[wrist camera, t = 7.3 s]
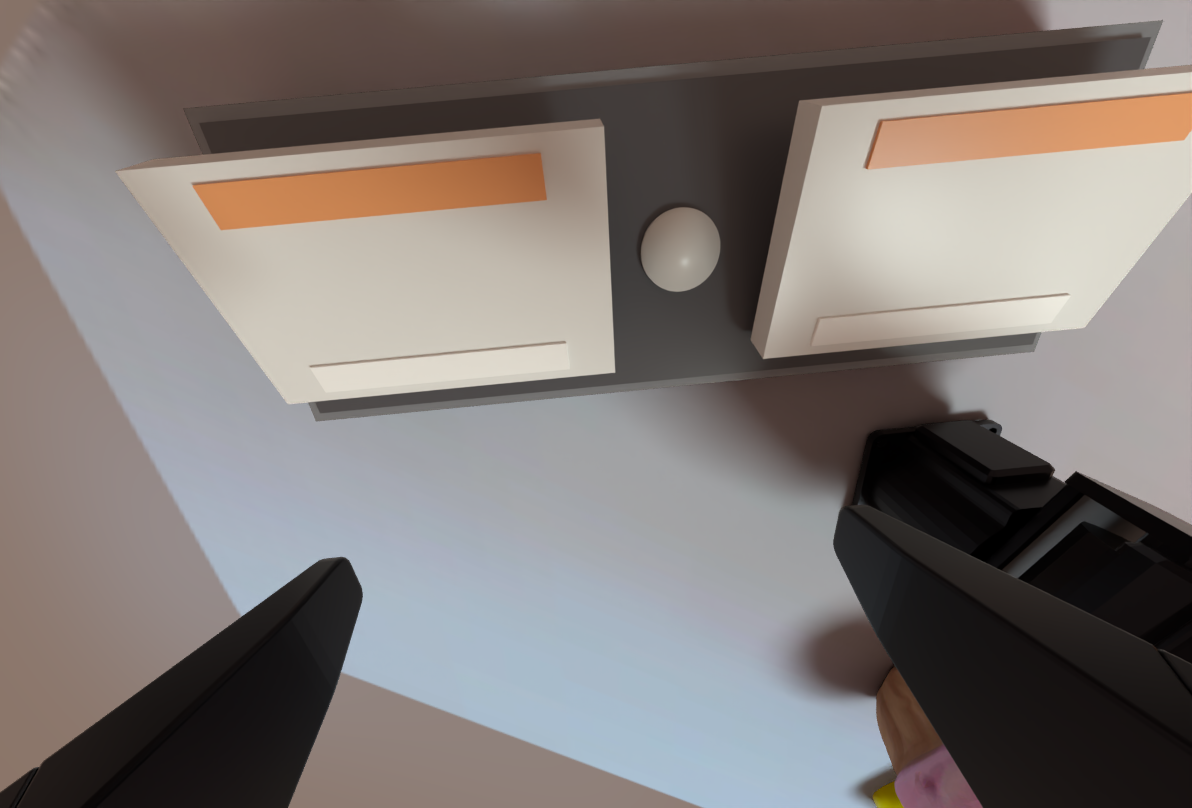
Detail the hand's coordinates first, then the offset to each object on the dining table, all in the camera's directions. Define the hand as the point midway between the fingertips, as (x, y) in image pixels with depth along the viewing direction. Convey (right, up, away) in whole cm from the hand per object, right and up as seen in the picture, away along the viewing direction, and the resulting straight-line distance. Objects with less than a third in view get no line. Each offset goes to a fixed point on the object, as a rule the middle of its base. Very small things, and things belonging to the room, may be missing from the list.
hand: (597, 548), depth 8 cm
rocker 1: (-5, +6, +4) cm, 9 cm away
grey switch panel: (+3, +9, +9) cm, 13 cm away
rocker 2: (+11, +8, +5) cm, 14 cm away
